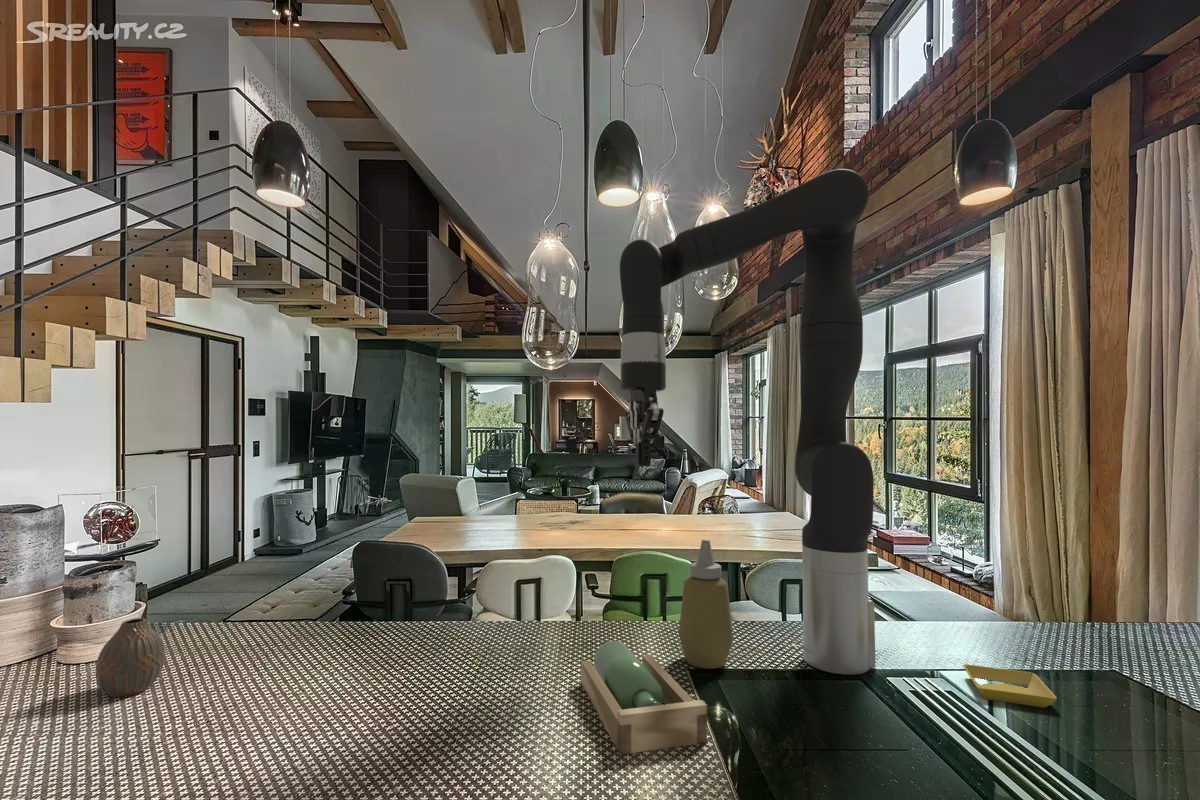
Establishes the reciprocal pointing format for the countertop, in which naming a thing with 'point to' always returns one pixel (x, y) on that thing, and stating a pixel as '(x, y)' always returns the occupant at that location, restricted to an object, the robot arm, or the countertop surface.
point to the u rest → (648, 713)
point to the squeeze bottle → (705, 613)
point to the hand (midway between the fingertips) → (643, 465)
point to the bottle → (626, 677)
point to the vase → (130, 659)
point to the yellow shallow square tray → (1011, 686)
